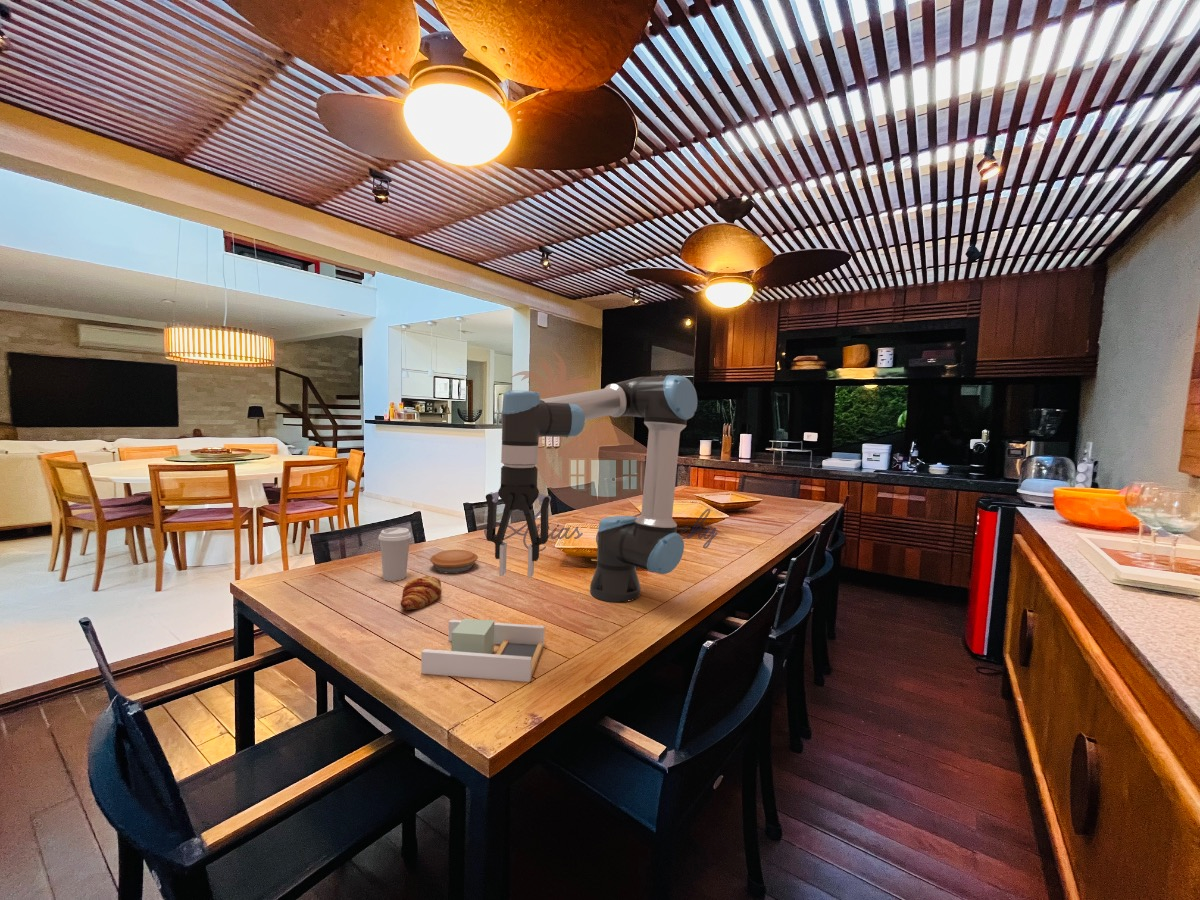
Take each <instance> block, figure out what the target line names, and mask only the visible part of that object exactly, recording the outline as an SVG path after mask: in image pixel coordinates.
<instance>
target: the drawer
mask: <svg viewBox="0 0 1200 900" xmlns="http://www.w3.org/2000/svg"><path fill="white" fill-rule="evenodd" d="M543 649H544V646H543V643H538V645H531V644H517V643H508V640H504V641H503V643H502V644H500V646H499V648H498V650H497V652H496V653H495V654H499V655H512V656H526V657H532V658H531V678H532V677H533V675H532V674H534V672H535V669H536V666H537V664H538V663H539V662H538V661H539V659H540V657H541V653H542V652H543ZM541 651H542V652H541Z"/></svg>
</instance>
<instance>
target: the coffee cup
mask: <svg viewBox="0 0 1200 900" xmlns="http://www.w3.org/2000/svg"><path fill="white" fill-rule="evenodd" d="M411 538H412V533H411V532H410V530H409V528H406V527H389V528H385V529H382V530H381V531H380V534H378V539H377V540H379V545H380V556H381V564H382V565H381V567H382V568H381V569H382V578H383V581H385V580H387V581H386V582H397V581H396V580H400V581H402V580H401V579H403V580H405V579H406V578H405V577H407V570H408V561H409V559H408V558H409V550H410V543H411V542H410V541H411ZM404 578H405V579H404Z"/></svg>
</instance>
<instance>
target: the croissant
mask: <svg viewBox="0 0 1200 900" xmlns="http://www.w3.org/2000/svg"><path fill="white" fill-rule="evenodd" d="M441 583H442V580H441V578H437V577H435V576H428V575H425V576H420V577H415V578H413V579H411V580H409V581H407V583H406V584H405V585H404V587H403V589H402V597H401V600H400V603H399V604H400V606H401V608H402V609H403V610H405V611H410V610H416V609H417V610H418V609H422V608H424V607H425V605H426V606H428V605H431V604H432V603H434V602H435V601H436V600H437V599H438V598H439V597H441V595H442V592H443V591H442V584H441Z"/></svg>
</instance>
